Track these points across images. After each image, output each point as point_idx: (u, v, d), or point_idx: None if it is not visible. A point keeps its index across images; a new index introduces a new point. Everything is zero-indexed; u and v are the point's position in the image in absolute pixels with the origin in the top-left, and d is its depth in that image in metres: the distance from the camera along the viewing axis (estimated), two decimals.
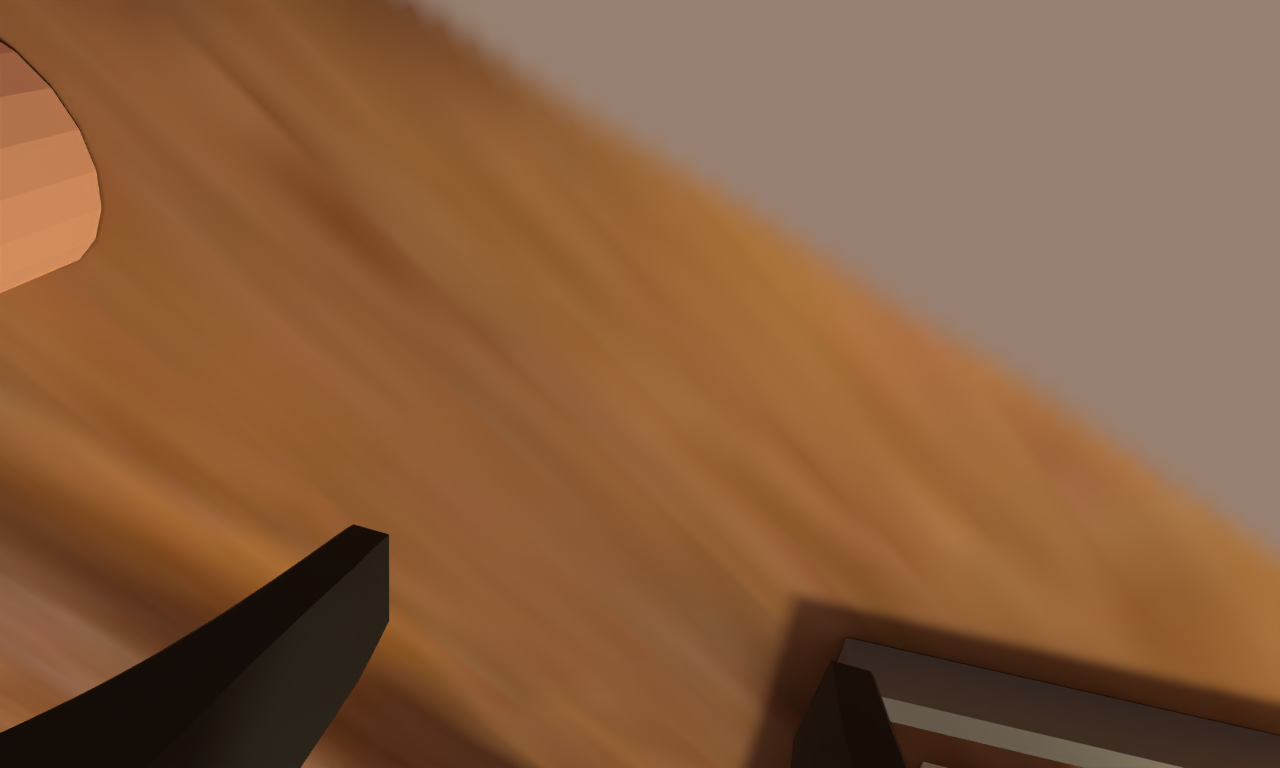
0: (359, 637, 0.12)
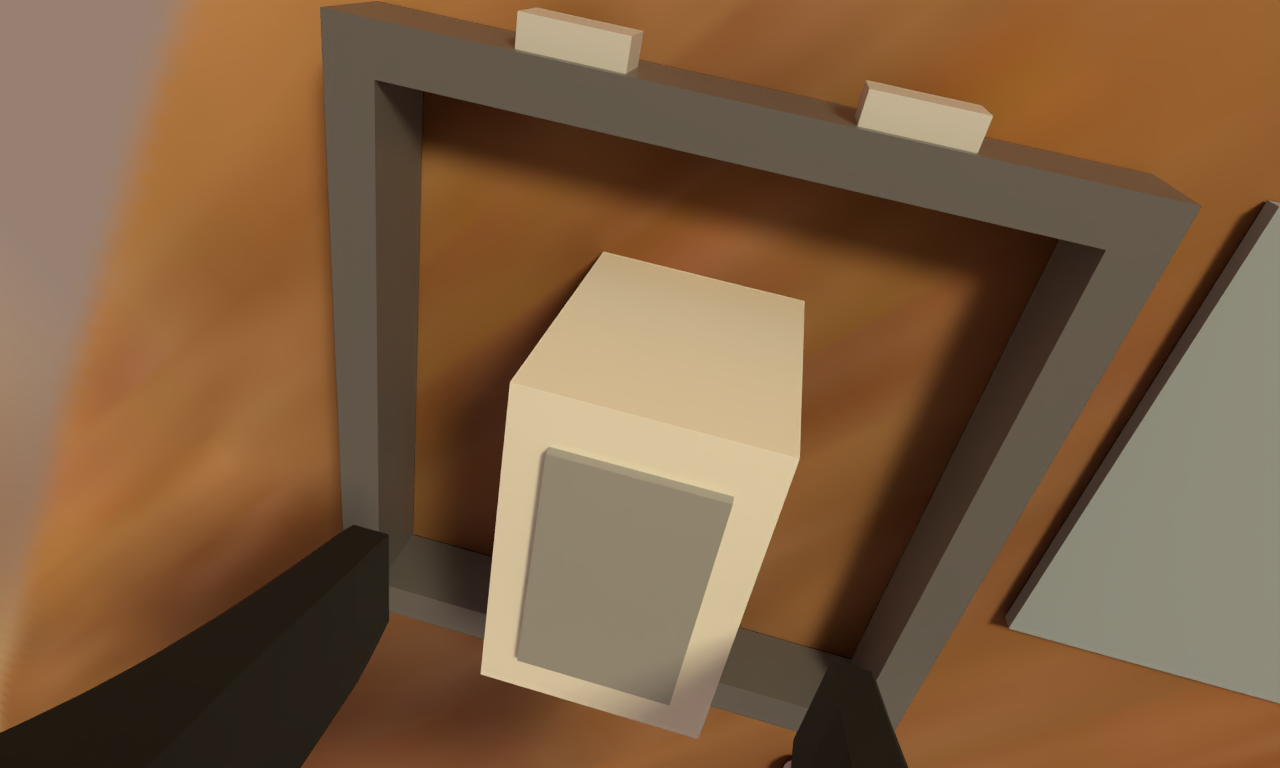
0: (359, 637, 0.12)
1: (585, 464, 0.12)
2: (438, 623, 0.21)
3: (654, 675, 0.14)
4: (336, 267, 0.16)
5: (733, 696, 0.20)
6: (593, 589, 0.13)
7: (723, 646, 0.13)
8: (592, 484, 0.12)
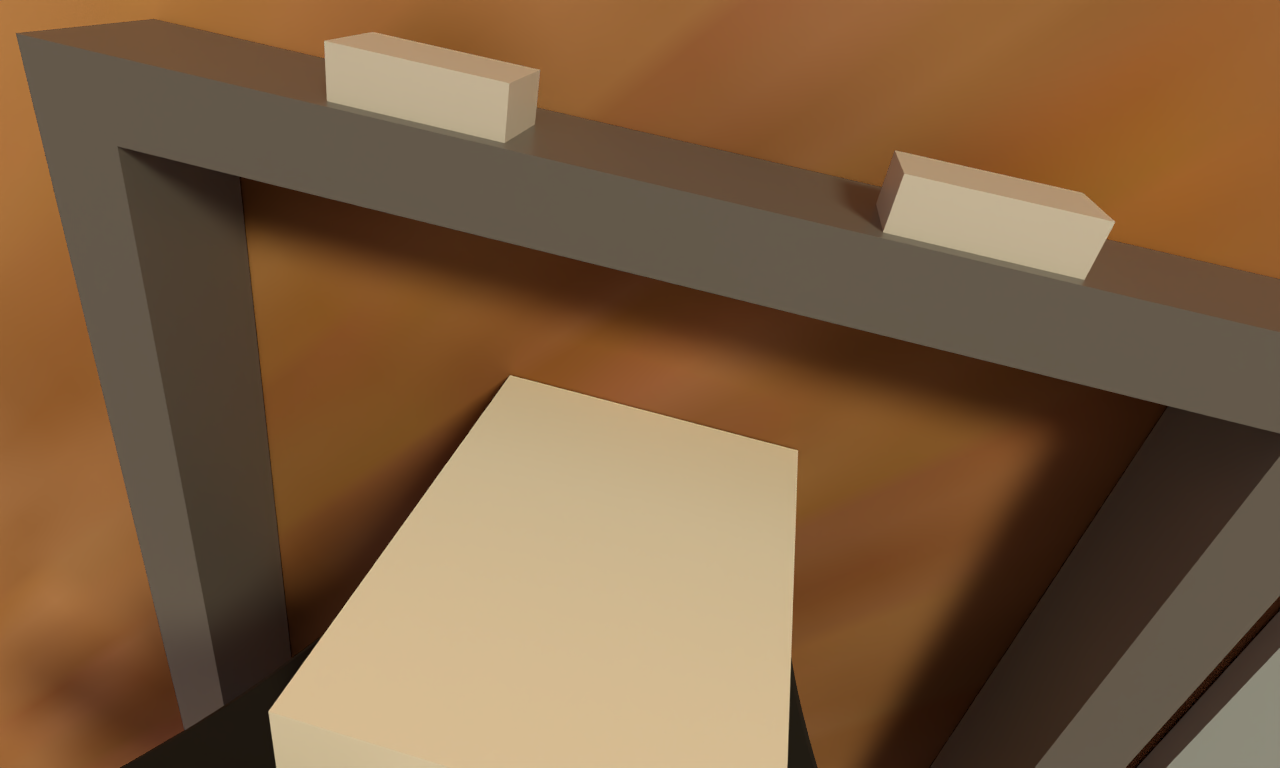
0: None
1: None
2: None
3: None
4: (113, 407, 0.11)
5: None
6: None
7: None
8: None
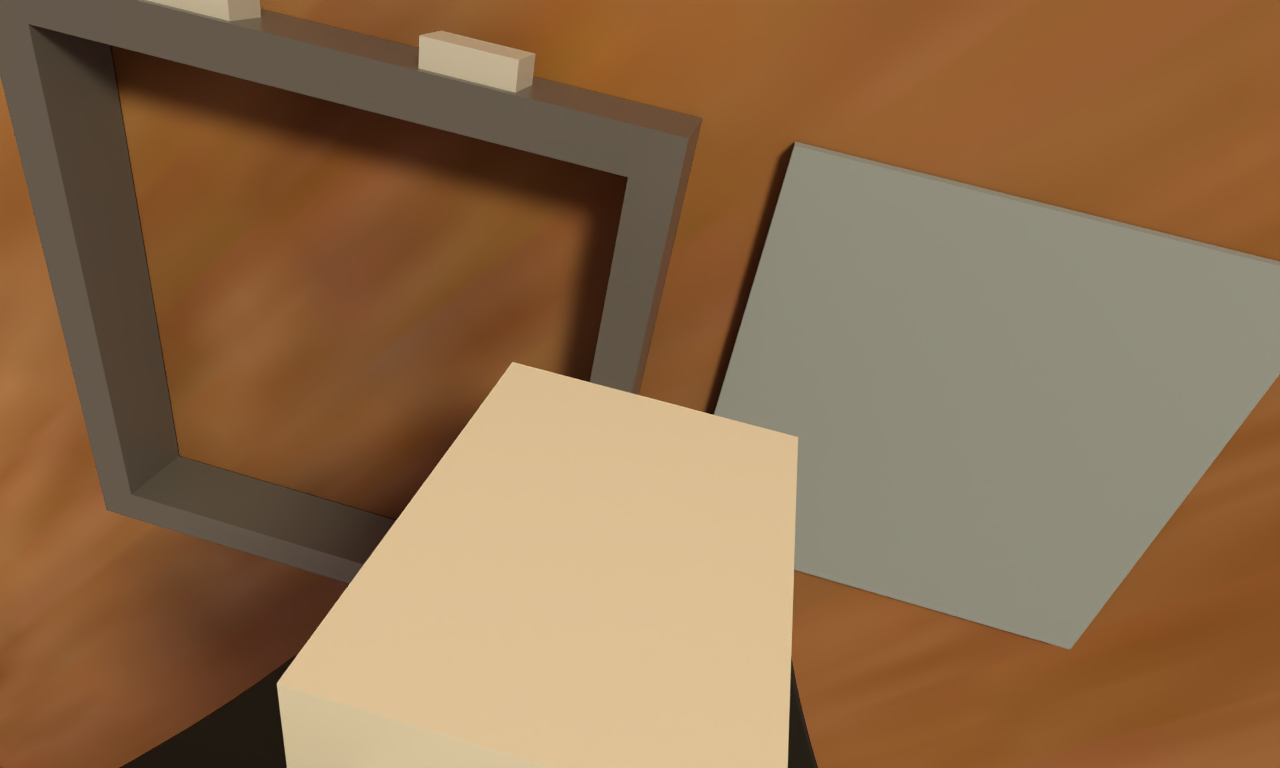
0: None
1: None
2: (188, 532, 0.23)
3: None
4: (34, 194, 0.18)
5: None
6: None
7: None
8: None
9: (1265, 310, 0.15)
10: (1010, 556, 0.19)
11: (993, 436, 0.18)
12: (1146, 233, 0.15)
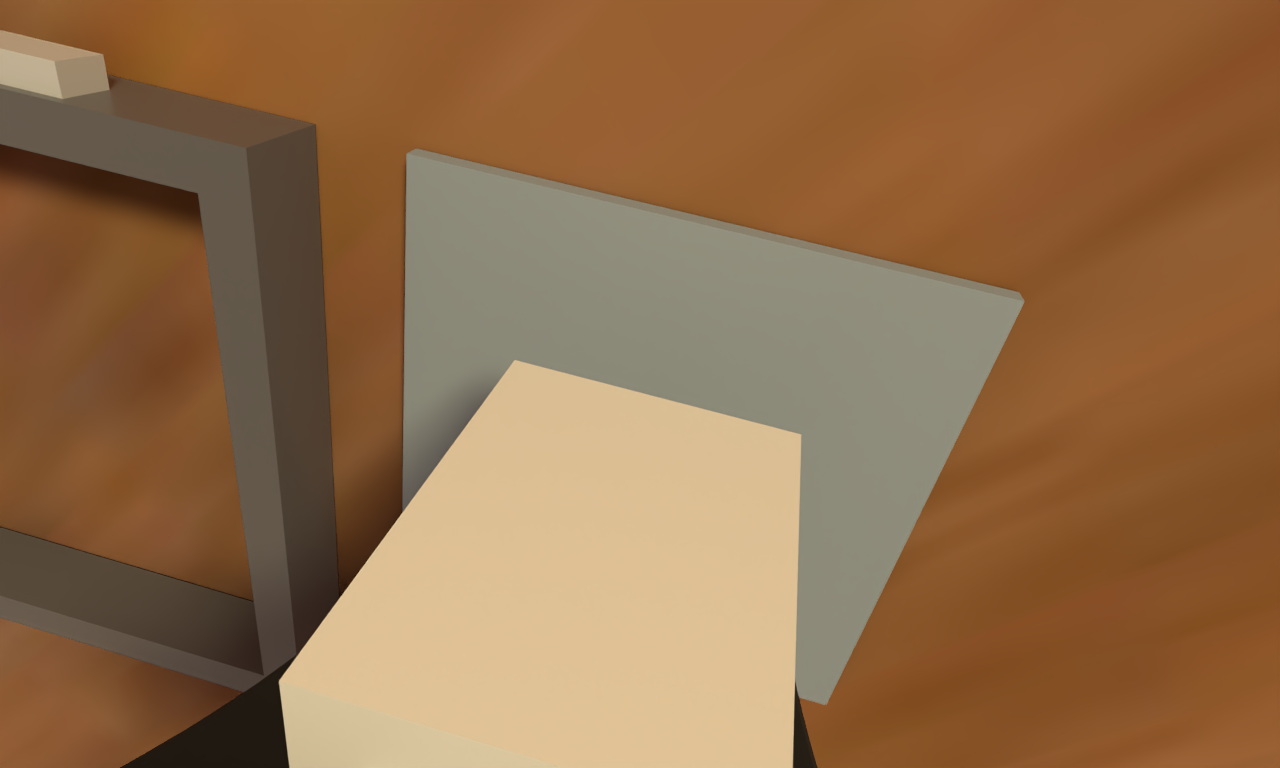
0: None
1: None
2: None
3: None
4: None
5: (157, 651, 0.20)
6: None
7: None
8: None
9: (942, 333, 0.13)
10: None
11: None
12: (797, 247, 0.13)
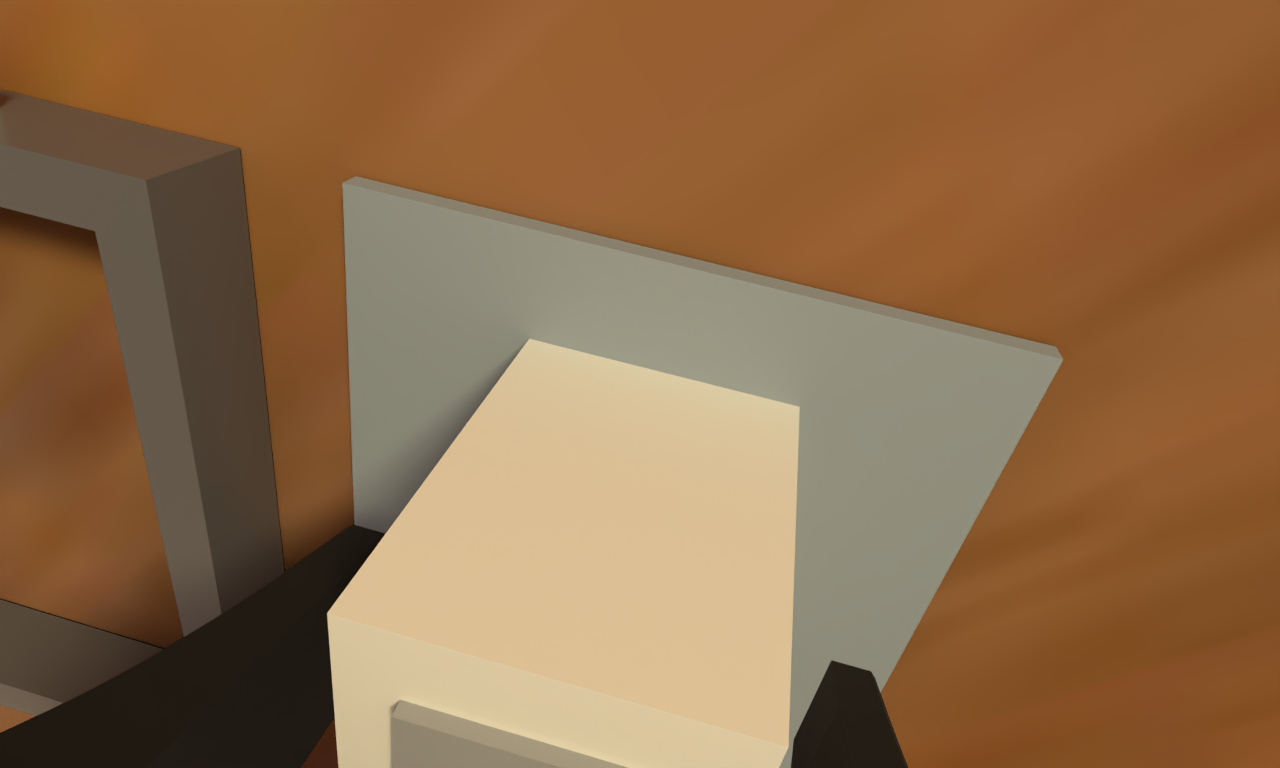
0: None
1: (454, 731, 0.08)
2: None
3: None
4: None
5: None
6: None
7: None
8: (466, 759, 0.08)
9: (965, 393, 0.11)
10: None
11: None
12: (795, 294, 0.11)
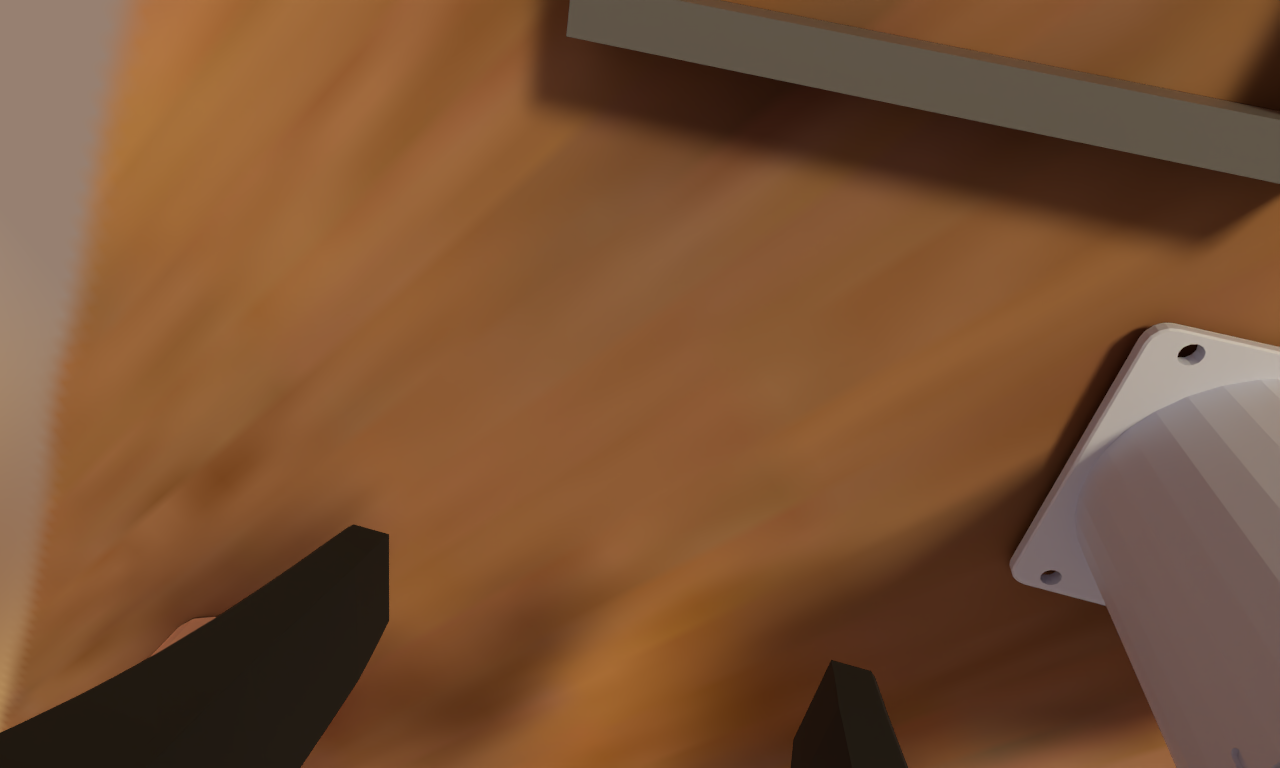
0: (359, 637, 0.12)
1: None
2: (703, 59, 0.14)
3: None
4: None
5: (1156, 118, 0.13)
6: None
7: None
8: None
9: None
10: None
11: None
12: None
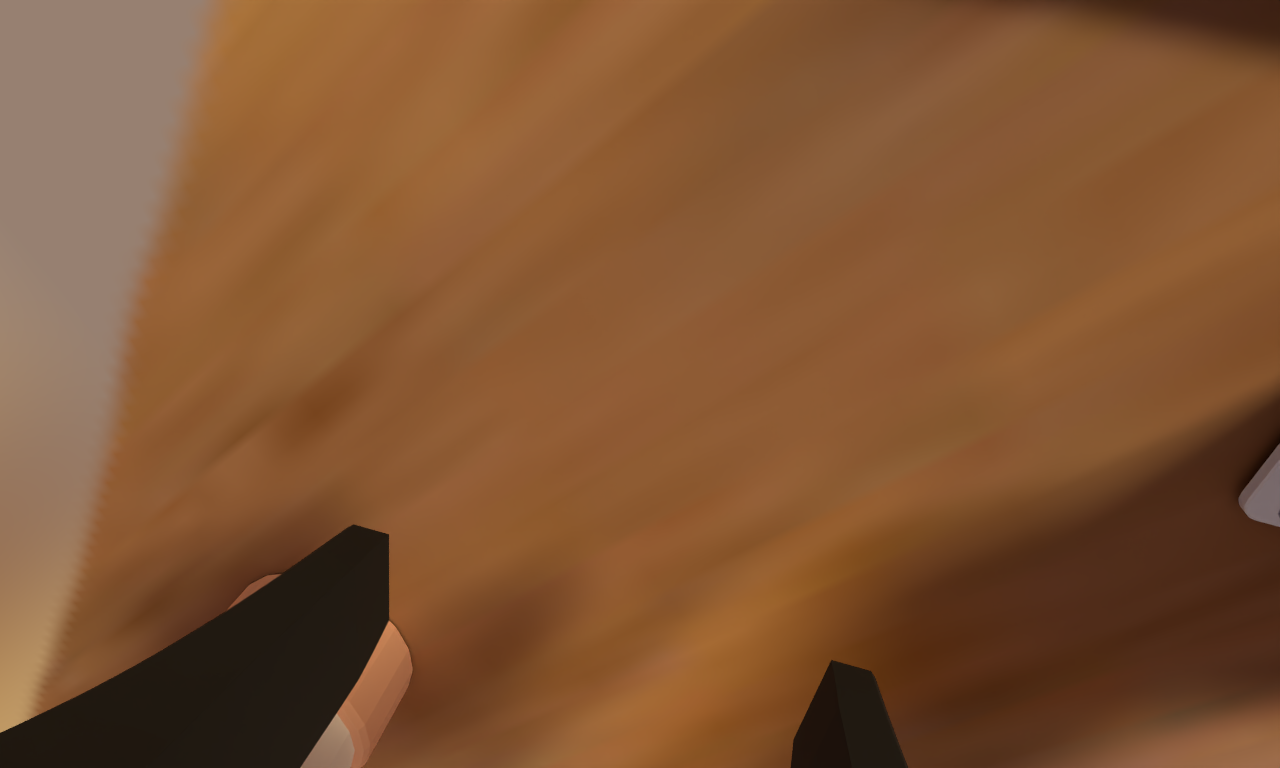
0: (359, 637, 0.12)
1: None
2: None
3: None
4: None
5: None
6: None
7: None
8: None
9: None
10: None
11: None
12: None
